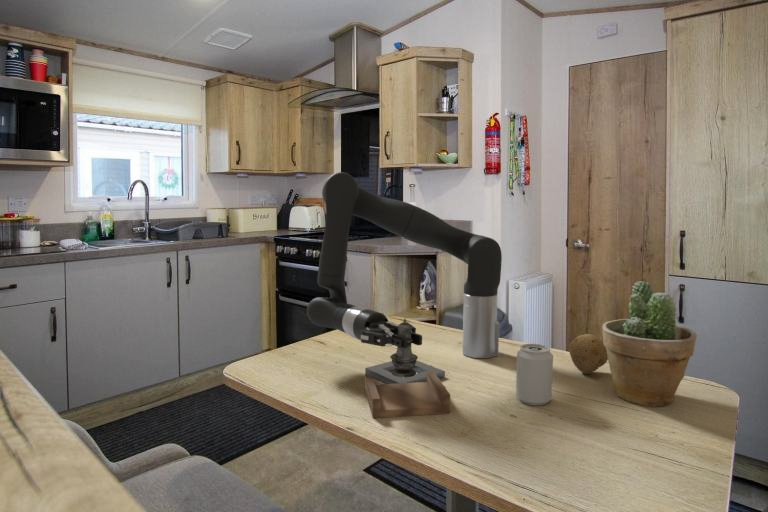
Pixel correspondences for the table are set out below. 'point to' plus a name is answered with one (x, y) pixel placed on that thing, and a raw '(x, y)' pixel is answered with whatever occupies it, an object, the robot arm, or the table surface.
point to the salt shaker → (404, 354)
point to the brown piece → (407, 397)
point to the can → (534, 374)
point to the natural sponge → (588, 353)
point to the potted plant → (648, 349)
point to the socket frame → (385, 375)
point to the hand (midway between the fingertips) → (413, 342)
